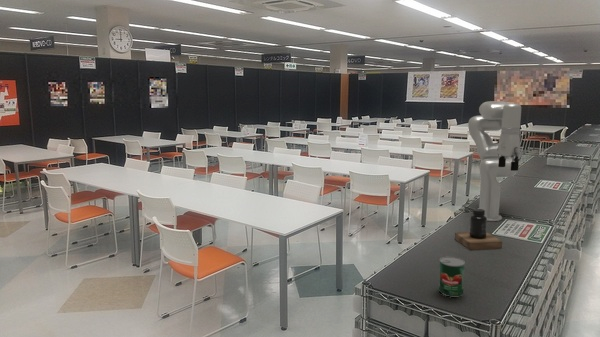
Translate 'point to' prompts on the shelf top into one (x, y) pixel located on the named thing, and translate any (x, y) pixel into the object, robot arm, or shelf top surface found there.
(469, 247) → the wavy wooden tray
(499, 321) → the shelf top surface
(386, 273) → the shelf top surface
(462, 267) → the canned tomato
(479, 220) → the supplement bottle
